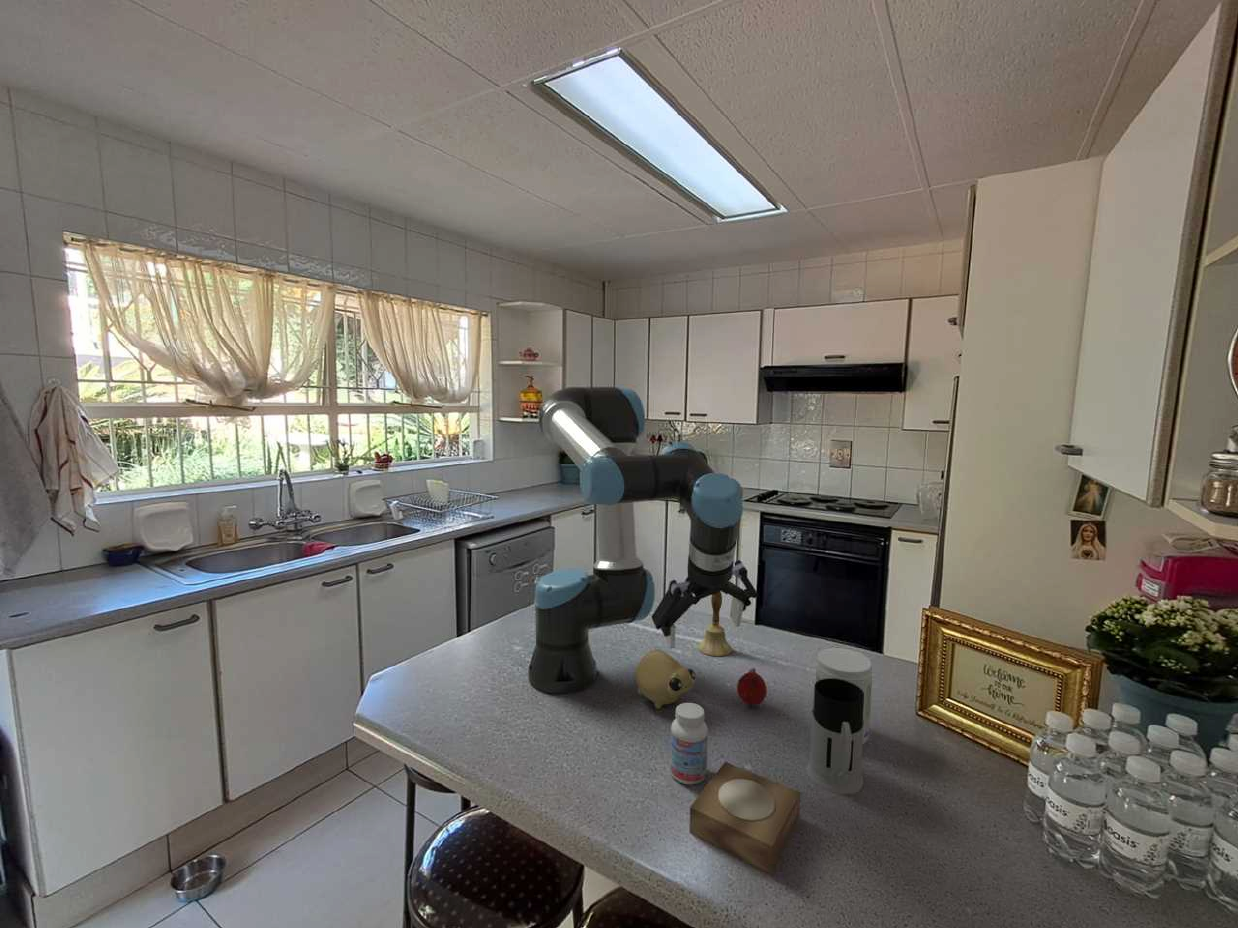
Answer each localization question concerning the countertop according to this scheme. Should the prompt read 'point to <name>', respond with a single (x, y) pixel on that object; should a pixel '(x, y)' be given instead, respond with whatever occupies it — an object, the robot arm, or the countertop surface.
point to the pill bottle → (689, 744)
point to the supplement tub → (848, 674)
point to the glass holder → (837, 736)
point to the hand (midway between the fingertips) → (702, 631)
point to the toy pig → (663, 678)
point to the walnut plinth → (746, 815)
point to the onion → (751, 688)
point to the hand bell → (715, 633)
